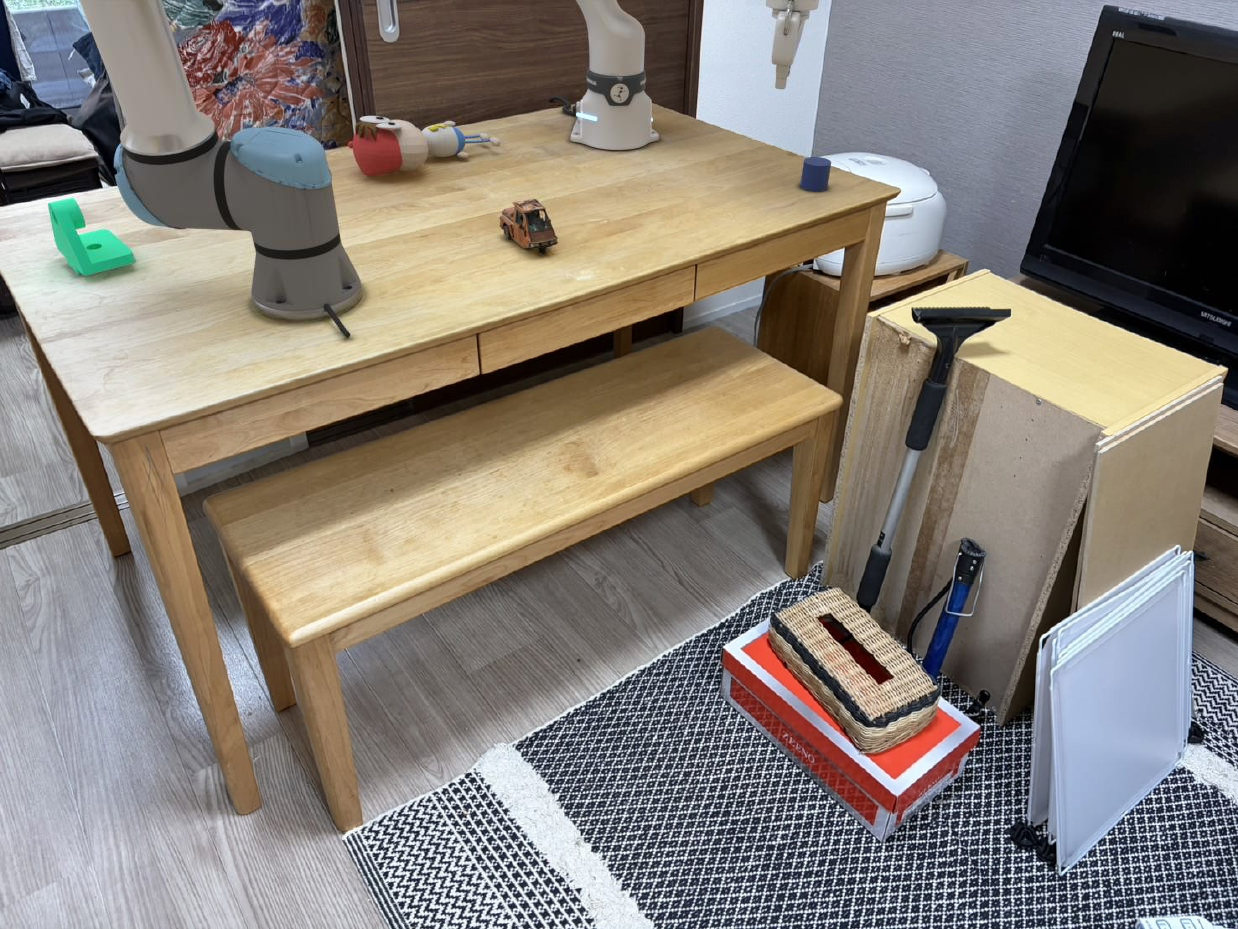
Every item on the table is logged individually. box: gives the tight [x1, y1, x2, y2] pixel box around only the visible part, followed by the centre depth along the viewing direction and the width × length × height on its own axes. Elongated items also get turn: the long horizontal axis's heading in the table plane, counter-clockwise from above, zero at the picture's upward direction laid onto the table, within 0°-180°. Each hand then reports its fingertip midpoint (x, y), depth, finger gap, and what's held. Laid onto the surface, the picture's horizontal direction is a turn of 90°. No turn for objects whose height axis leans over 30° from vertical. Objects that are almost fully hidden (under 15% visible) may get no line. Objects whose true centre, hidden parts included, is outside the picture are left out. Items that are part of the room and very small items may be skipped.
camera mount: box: [47, 197, 136, 277], centre depth 139 cm, size 12×8×10 cm, turn 42°
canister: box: [800, 156, 832, 193], centre depth 175 cm, size 5×5×5 cm
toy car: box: [499, 198, 559, 255], centre depth 150 cm, size 6×12×7 cm, turn 39°
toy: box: [347, 115, 502, 177], centre depth 180 cm, size 18×10×30 cm
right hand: (782, 82), depth 164 cm, fingers open, 8 cm apart
